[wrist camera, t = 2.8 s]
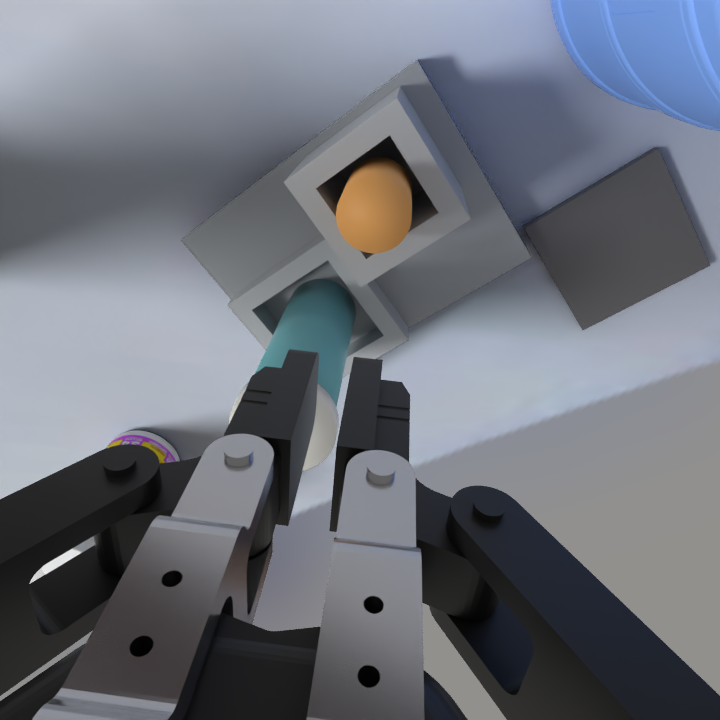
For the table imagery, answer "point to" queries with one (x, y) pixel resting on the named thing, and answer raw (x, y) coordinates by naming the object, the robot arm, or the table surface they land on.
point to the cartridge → (316, 334)
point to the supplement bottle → (131, 437)
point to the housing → (333, 253)
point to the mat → (618, 240)
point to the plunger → (375, 206)
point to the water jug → (649, 52)
